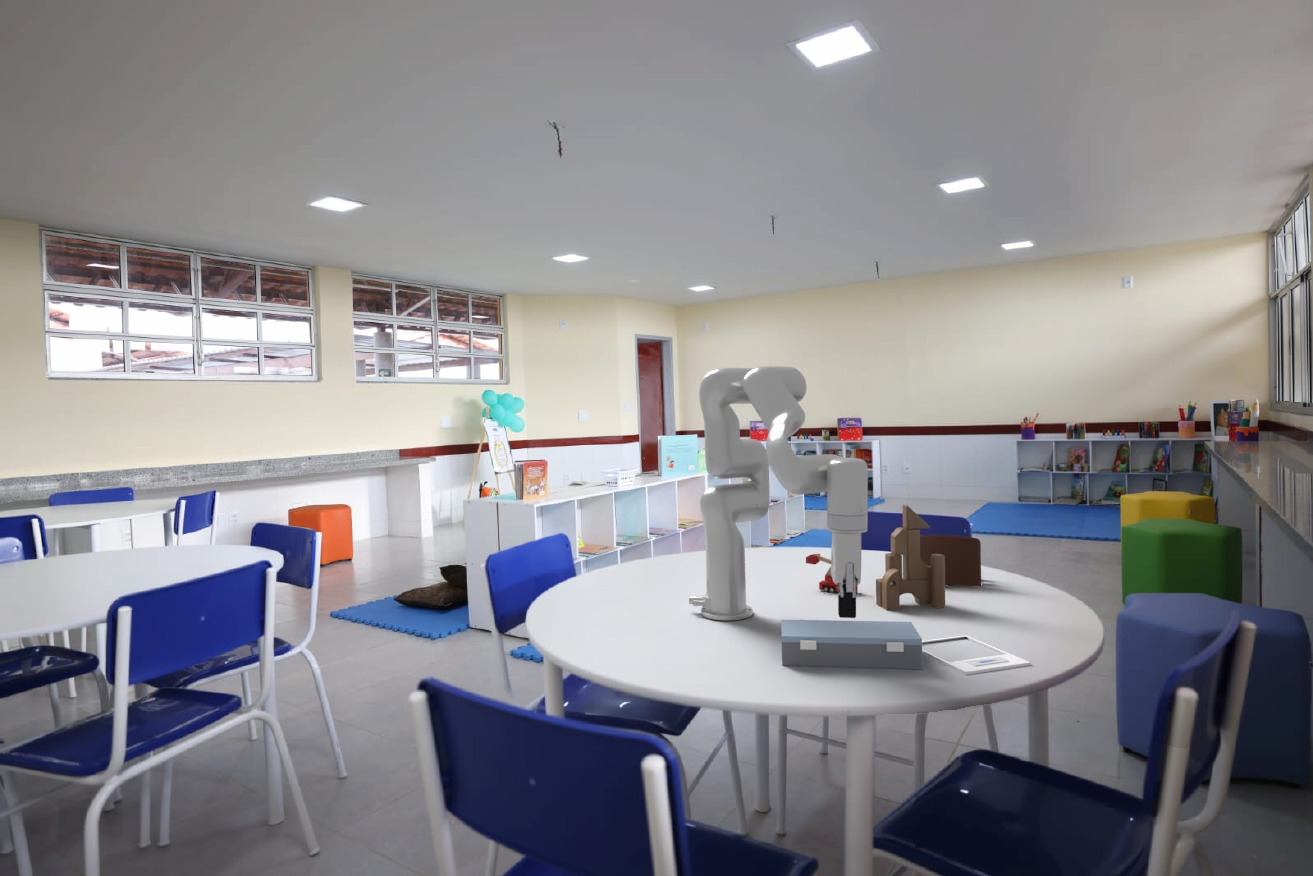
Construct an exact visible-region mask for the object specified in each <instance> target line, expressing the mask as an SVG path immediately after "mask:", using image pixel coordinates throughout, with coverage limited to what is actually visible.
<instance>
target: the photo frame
mask: <svg viewBox="0 0 1313 876" xmlns="http://www.w3.org/2000/svg"><path fill="white" fill-rule="evenodd" d="M964 638H965V639H968V641H970V642H973V643H974V644H976V645H979V646H982V647H983V648H986V649H989V650H990V651H993V652H994V653H995V652H996V653H998V654H999V655H991V656H984V657H976V658H970V659H963V660H955V661H947V660H945V659H943V658H942V657H939V656H937V655H936V654H934V653H931V652H929V651H927V650H925V649H923V648H922V655H925V656H927V657H929V658H931V659H932V660H934V661H937V662H939V663H941V664H942V665H945V666H947V667H949V668H951V669H953V670H955V671H957V672H959V673H961V674H964V675H965V676H966V675H973V674H980V673H986V672H994V671H1000V670H1006V669H1013V668H1019V667H1020V668H1021V667H1026V666H1031V664H1032V663H1031V661H1028V660H1026V659H1024V658H1021V657H1019V656H1017V655H1014V654H1012V653H1009V652H1007V651H1004V650H1003V649H999V648H997V647H994V646H993V645H990V644H987V643H985V642H983V641H980V640H979V639H975V638H973V637H971V636H969V635H966V634H965V635H959V636H958V635H956V636H949V637H942V638H941V637H940V638H934V639H927V640H922V644H926V643H934V642H940V641H941V642H943V641H948V640H949V641H950V640H957V639H964Z"/></svg>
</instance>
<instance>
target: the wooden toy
mask: <svg viewBox="0 0 1313 876" xmlns="http://www.w3.org/2000/svg"><path fill="white" fill-rule="evenodd" d="M926 529H927V530H929V529H931V526H930V525H929V524H928V523H927V522H926V521H925V520H924V519H923V518H921V517H920V515H918V514H917V513H916V512H915V511H914V510H913V509H912V508H911V507H910V506H908V505H907V504H902V527H896V528H895V529H894V531H893V532H892V533H891V534H890V553H889V552H888V553H885V555H884V558H885V559H884V562H885V563H884V564H885V568H884V569H885V570H884V571H885V573H884V574H883V575H882V578H875V598H876V600H875V604H876V606H877V605H878V606H879V607H881V608H883V609H884V610H886V611H899V610H901V605H900V604H901V601H900V600H901V599H900V598H901V596H902V595H903V594H905V595H906V594H911V595H912V596H913V598H914V602H915V603H916V604H918V605H920V606H928V605H930V606H932V607H933V608H936V609H943V608H946V585H945V556H944V555H942V554H932V555H931V567H930V566H928V565H926V564H924V563H923V561H922V560H921V558H920V535H921V530H926ZM903 570H904V577H903Z"/></svg>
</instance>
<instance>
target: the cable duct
mask: <svg viewBox="0 0 1313 876" xmlns="http://www.w3.org/2000/svg"><path fill="white" fill-rule="evenodd" d="M781 637H782V633H781ZM922 649H923V644H922V645H904V652H889V651H887V648H886V645H883V644H838V643H816V650H805V649H800V643H794V642H782V641H781V661H782V662H781V663H782V665H781V666H785V667H786V666H787V667H788V666H789V667H790V666H794V667H795V666H797V667H798V666H799V667H824V668H825V667H827V668H828V667H831V668H864V669H866V668H868V669H899V670H900V669H904V670H923V653H922Z"/></svg>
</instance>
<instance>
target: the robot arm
mask: <svg viewBox="0 0 1313 876" xmlns="http://www.w3.org/2000/svg"><path fill="white" fill-rule="evenodd" d="M805 378H806V377H805V376H804V375H803V373H802V372H801V371H800V370H799V369H797V368H795V367H794V366H772V365H770V366H768V365H767V366H757V367H721V368H716V369H712V370H711V371H709V372H707V373H706V374H705V375H704V376H703V378H702V380H701V382H700V386H699V393H698V395H699V396H698V397H699V404H700V408H701V414H702V417H703V423H704V454H705V455H704V456H705V457H704V459H705V461H704V462H705V468H706V471H707V474H708V475H709V476H710V477H711V478H713V479H715V480H729V479H741V481H742V482H741V483H727V484H717V485H714V486H710V487H708V488H707V489H705V490H704V491H703V493H702V494H701V496H700V501H699V507H700V512H701V518H702V523H703V528H704V540H705V569H706V571H705V573H706V593H705V595H701V596H693V595H692V596H691V595H690V596H689V597H688V601H689V602H688V604H689V605H692V606H693V607H701V606H702V607H701V609H700V614H701V616H702V617H704V618H707V619H710V620H714V621H726V622H727V621H739V620H744V619H747V618H750V617H751V616H753V612H754V611H753V607H751V606H750V605H748V604H747V592H746V591H747V590H746V589H747V587H746V584H747V582H746V581H747V580H746V549H745V548H746V547H745V539H744V537H743V535H742V533H741V531H740V530H739V528H738V527H737V525H736V524H739V523H746V522H752V521H753V522H754V521H758V520H761V519H764V518H765V517H766V515H767V514H768V513H769V512H768V511H769V510H770V504H771V502H770V499H771V495H770V492H771V491H770V489H771V488H770V487H771V486H770V485H771V484H770V470H771V471H772V473H773V474H774V476H775V478H776V480H777V482H779V483H780V485H781V487H783V488H784V489H785V490H786V491H788V493H790V494H791V493H792V494H794V495H804V494H805V495H806V494H814V493H826V511H827V512H826V530H827V531H828V532H832V533H831V547H830V549H831V550H830V551H831V554H830V556H831V558H830V559H831V564H830V567H831V576H832V579H833V582H834V583H835V584H838V583H839V592H838V593H839V594H838V595H837V605H838V606H837V607H838V611H837V612H838V613H837V614H838V617H839V618H840V619H841V618H842V619H843V618H845V619H855V618H857V597H856V596H857V595H856V593H855V588H856V584H857V585H860V584H861V581H862V580H861V579H862V533H863V534H864V533H866V532H868V522H869V521H868V520H869V518H868V516H869V515H868V499H869V498H868V497H869V496H868V488H869V487H868V482H869V481H868V479H869V477H868V471H869V470H868V465H867V461H865V460H864V459H861V458H857V457H844V456H840V455H839V454H831V453H830V454H829V453H827V454H826V453H824V454H807V455H797V454H796V453H795V450H793V448H792V446H791V445H790V444H789V442H788V438H789V437H792V436H793V435H794V434H796V433H797V432H798V431H799V430H800V428H802V426H803V425H804V422H805V421H806V413H805V410H804V409H803V408H802V406H801V405H800V403H799V402H801V401H803V399H804V397H805V396H806V393H807V383H806V382H807V381H806V379H805ZM735 404H737V405H742V404H743V405H744V404H745V405H747V404H748V405H749V404H751V405H752V407H753V409H754V410H755V412H756V414H757V415H758V417H759V418H760V420H761V421H762V423H763V424H764V426H765V427H766V429H767V432H768V434H767V438H766V441H765V442H766V443H765V446H764V444H763V443H762V442H761V441H760V440H758V439H756V438H755V439H754V438H741V433H740V431H741V430H740V428H741V425H740V424H741V423H740V420H739V417H738V415H737V413H736V412H735V410H734V409H733V408H732V406H731V405H735Z"/></svg>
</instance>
